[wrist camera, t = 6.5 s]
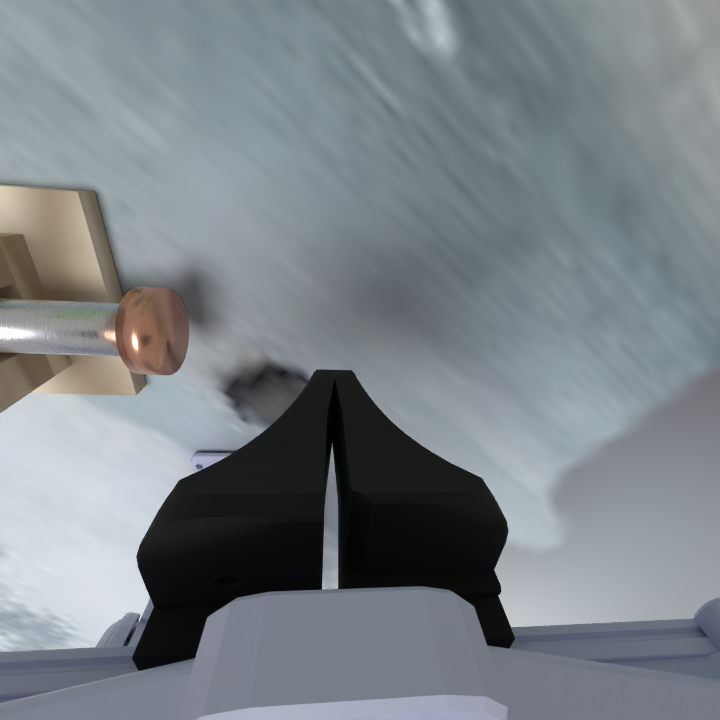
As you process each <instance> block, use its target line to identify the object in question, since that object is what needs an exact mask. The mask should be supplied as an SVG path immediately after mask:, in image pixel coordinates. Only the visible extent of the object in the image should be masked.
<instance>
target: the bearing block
mask: <svg viewBox="0 0 720 720" xmlns="http://www.w3.org/2000/svg"><path fill="white" fill-rule="evenodd" d="M0 298H7V299H28V300H50V301H72V302H93V303H115V304H120V302H121V300H122V299H123V295H122V292H121V288H120V284H119V280H118V277H117V273H116V269H115V265H114V262H113V258H112V254H111V250H110V247H109V243H108V239H107V235H106V232H105V228H104V224H103V220H102V217H101V213H100V209H99V205H98V202H97V198H96V194H95V191H84V190H71V189H57V188H44V187H31V186H18V185H4V184H0ZM145 386H146V381H145V378H144V374H136V373H134V372H132V371H130V370H129V369H128V368H127V367H126V365H125V364H124V362H123V361H122V359H121V357H120V356H95V355H64V354H33V353H2V352H0V413H1V412H2V411H4V410H5V409H7V408H8V407H10V406H11V405H13V404H14V403H16V402H17V401H19V400H20V399H22V398H23V397H25V396H26V395H28V394H29V393H57V394H103V395H137V394H138V393H139V392H140V391H141V390H142V389H143V388H144V387H145Z"/></svg>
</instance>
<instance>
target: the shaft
mask: <svg viewBox="0 0 720 720" xmlns="http://www.w3.org/2000/svg"><path fill="white" fill-rule="evenodd" d="M188 342H189V323H188V316H187V312H186V308H185V305H184V303H183V301H182V299H181V297H180V296H179V294H178V293H177V292H176V291H174V290H173V289H170V288H155V287H135V288H132V289H131V290H129V291H128V292H127V293H126V294H125V296H124V297H123V299H122V300H121V302H120V304H115V303H93V302H72V301H50V300H28V299H7V298H0V352H2V353H33V354H64V355H95V356H120V357H121V359H122V361H123V362H124V364H125V365H126V367H127V368H128V369H129V370H130V371H132V372H134V373H136V374H144V375H172V374H174V373H175V372H177V371H178V370H179V368H180V367H181V365H182V363H183V361H184V359H185V356H186V353H187V348H188Z"/></svg>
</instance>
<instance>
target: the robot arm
mask: <svg viewBox="0 0 720 720" xmlns="http://www.w3.org/2000/svg"><path fill="white" fill-rule="evenodd" d="M332 444H333V454H334V464H335V474H336V484H337V494H338V589H332V590H322V568H323V536H324V507H325V495H326V487H327V479H328V471H329V463H330V455H331V447H332ZM191 463H192V467H193V472H194V474H192V475H190V476H188V477H185V478H183V479H181V480H179V481H178V483H177V484H176V486H175V487H174V489H173V490H172V492H171V493H170V494H169V496H168V497H167V498H166V500H165V502H164V503H163V505H162V506H161V508H160V509H159V511H158V513H157V515H156V516H155V518H154V520H153V522H152V524H151V526H150V527H149V529H148V531H147V533H146V535H145V537H144V538H143V540H142V542H141V544H140V546H139V550H138V553H137V556H136V557H137V563H138V568H139V571H140V573H141V576H142V578H143V581H144V583H145V586H146V588H147V591H148V593H149V596H150V600H149V602H148V604H147V606H146V609H145V611H144V613H143V615H142V617H141V620H140V622H139V618H140V614H137V613H132V612H129V613H127V614H126V615H125V616H124V617H123V618H122V619H121V620H119V621H117V622H116V623H114V624H113V625H111V626H110V627H109V628H108V629H107V630H106V632H105V633H104V634H103V636H102V638H101V639H100V641H99V642H98V644H97V646H96V647H95V648H77V649H56V650H35V651H15V652H0V720H720V598H716V599H714V600H711V601H709V602H707V603H706V604H704V605H703V606H702V607H701V608H700V609H699V610H698V611H697V613H696V614H695V616H694V619H675V620H655V621H636V622H635V621H634V622H613V623H593V624H574V625H573V624H572V625H551V626H531V627H511V626H510V624H509V622H508V619H507V617H506V614H505V612H504V609H503V607H502V604H501V602H500V599H499V597H498V595H500V593H501V586H500V583H499V581H498V579H497V576H496V573H495V571H494V569H495V566H496V564H497V562H498V559H499V557H500V555H501V552H502V550H503V548H504V545H505V543H506V539H507V535H508V526H507V521H506V519H505V517H504V515H503V513H502V511H501V509H500V507H499V505H498V503H497V502H496V500H495V498H494V496H493V495H492V493H491V492H490V490H489V489H488V487H487V485H486V484H485V482H484V481H483V479H482V478H480V477H478V476H476V475H474V474H472V473H470V472H468V471H466V470H464V469H462V468H460V467H458V466H455V465H453V464H451V463H450V462H448V461H446V460H444V459H443V458H441V457H439V456H437V455H436V454H434V453H432V452H431V451H429V450H428V449H426V448H425V447H423V446H421V445H420V444H419V443H417V442H416V441H415V440H413V439H412V438H410V437H409V436H408V435H406V434H405V433H404V432H403V431H401V430H400V429H399V428H398V427H397V426H396V425H395V424H394V423H392V422H391V421H390V420H389V419H388V418H387V417H386V416H385V415H384V413H383V412H382V411H381V410H380V409H379V408H378V407H377V405H376V404H375V403H374V402H373V400H372V399H371V398H370V397H369V395H368V394H367V393H366V391H365V390H364V388H363V387H362V385H361V384H360V382H359V381H358V379H357V377H356V375H355V373H354V372H353V371H352V370H316V371H315V372H314V373H313V375H312V377H311V379H310V381H309V382H308V384H307V385H306V387H305V388H304V389H303V391H302V392H301V393H300V395H299V396H298V397H297V399H296V400H295V401H294V402H293V403H292V405H291V406H290V407H289V408H288V409H287V410H286V411H285V412H284V413H283V414H282V415H281V416H280V417H279V418H278V419H277V420H276V421H275V422H274V423H273V424H272V425H271V426H270V427H269V428H268V429H266V430H265V431H264V432H263V433H261V434H260V435H259V436H257V437H256V438H255V439H253V440H252V441H251V442H249V443H248V444H246V445H245V446H243V447H242V448H240V449H239V450H237V451H235V452H234V453H196V454H194V455H193V457H192V459H191ZM199 464H201V465H199Z"/></svg>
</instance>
